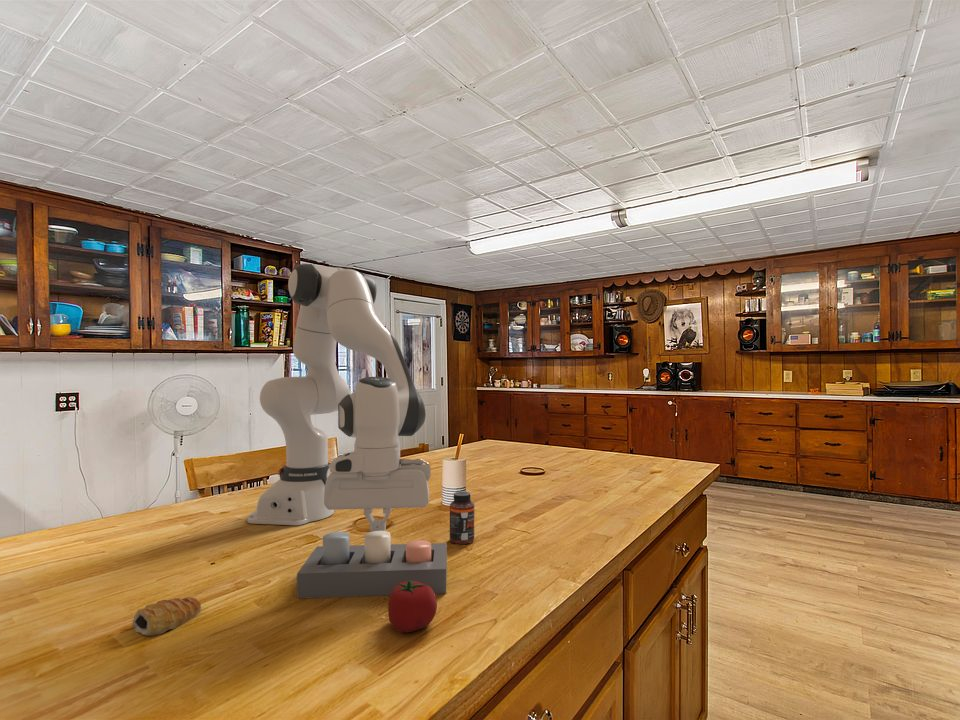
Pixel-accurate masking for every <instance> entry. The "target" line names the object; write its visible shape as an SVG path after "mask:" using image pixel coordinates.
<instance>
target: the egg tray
mask: <svg viewBox="0 0 960 720" xmlns="http://www.w3.org/2000/svg"><path fill="white" fill-rule="evenodd" d="M430 543H431V542H430ZM447 543H448V542H436V543H435V542H434V543H431V562H406V544H407V543H399V544H398V543H397V544H391V543H390V544H391V563H370V564H365V544H361V545H359V544H357V545H349V556H350V562H349V564H335V565H323V545H321V546H319V545H318V546H316V547H315V548H314V549H313V551H312V552H311V554H310V556H308V558H307V559H306V560H305V561H304V563H303V565H302V566H301V567H300V569H299V570H298V571H297V573H296V598H297V599H314V598H315V599H317V598H318V599H319V598H349V597H351V598H352V597H373V596H374V597H379V596H390V594H391V592H392V590H393V589H394V588H395V587H396V586H397V585H398V584H399V583H402V582H406V581H416V582H419V583H423V584H425V585H428V586H430V587H431V588H432V590H433V592H434V593H435V595H438V594H440V595H441V594H447V578H448V577H447V576H448V575H447V573H448V572H447V571H448V549H447V548H448V547H447V546H448V544H447Z"/></svg>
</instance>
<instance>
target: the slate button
mask: <svg viewBox="0 0 960 720" xmlns="http://www.w3.org/2000/svg"><path fill="white" fill-rule="evenodd" d="M322 546H323V565H335V564H349V562H350V556H349V546H350V533H348V532H345V531H334V532H329V533H327V534H324V535H323V536H322Z"/></svg>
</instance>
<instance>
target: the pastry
mask: <svg viewBox="0 0 960 720" xmlns="http://www.w3.org/2000/svg"><path fill="white" fill-rule="evenodd" d="M201 606H202V605H201V602H200V601H198V599H197V598H196V597H191V596H190V597H188V596H187V597H184V598H179V597H178V598H175V597H173V598H171V599H162V600H157V602H156V603H151V604H147V605H145V607H144V608H141V609H138V610H137V611H136V614H134V617H133V619H132V622H131V624H132V627H133V628H134V631H135V632H136V633H138V634H142V635H144V636H147V637H148V636H149V637H150V636H155V637H156V636H160V635H161V634H165V633H166V631H169V630H174V629H176V628H179V627H180V626H181V625H183V624H186V623H187V622H189V621H191V620H192V619H194V618H196V616H197V615H198V614H199V613H200V612H201V609H202V607H201Z"/></svg>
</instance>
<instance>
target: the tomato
mask: <svg viewBox="0 0 960 720" xmlns="http://www.w3.org/2000/svg"><path fill="white" fill-rule="evenodd" d="M388 596H389V598H388V604H387V614H388V615H387V616H388V619H389V622H390V624H391V626H392V627H393V629H395V630H396V631H398V632H400V633H402V634H404V633H413V632H415V631H419V630H421V629H423V628H425V627H428V626H429V625H430V624H431V622H432V621H433V619H434V618H435V616H436V615H437V609H438V603H437V597H436V594H435V593H434V592H433V590H432V588H431V587H430V586H428V585H425V584H423V583H419V582H416V581H406V582H402V583H399V584H398V585H397V586H396V587H395V588H394V589H393V590H392V592H391V594H390V595H388Z"/></svg>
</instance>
